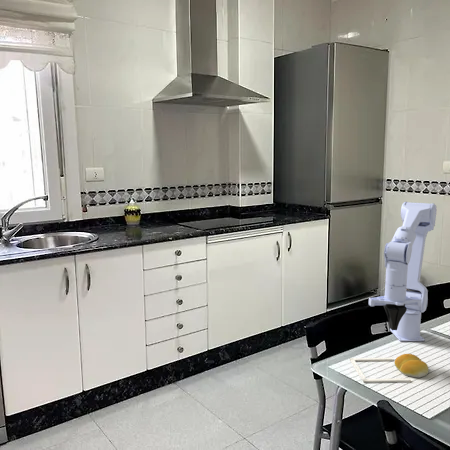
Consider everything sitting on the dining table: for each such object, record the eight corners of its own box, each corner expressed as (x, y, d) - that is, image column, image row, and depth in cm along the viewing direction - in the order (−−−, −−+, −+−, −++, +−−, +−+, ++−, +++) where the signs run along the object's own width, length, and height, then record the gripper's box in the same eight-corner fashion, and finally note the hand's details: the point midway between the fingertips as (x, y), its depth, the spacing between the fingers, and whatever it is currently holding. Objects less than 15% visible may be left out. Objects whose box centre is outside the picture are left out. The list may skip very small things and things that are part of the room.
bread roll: (407, 380, 121) (408, 366, 121) (390, 364, 130) (390, 351, 130) (435, 377, 123) (436, 363, 122) (416, 361, 132) (417, 349, 131)
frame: (349, 359, 133) (349, 358, 133) (392, 359, 133) (392, 357, 133) (363, 382, 120) (363, 380, 120) (410, 381, 120) (410, 380, 120)
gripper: (375, 288, 125) (373, 334, 127) (427, 287, 125) (424, 333, 127) (367, 280, 132) (365, 325, 134) (416, 280, 132) (413, 324, 134)
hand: (393, 328), depth 131 cm, fingers closed
